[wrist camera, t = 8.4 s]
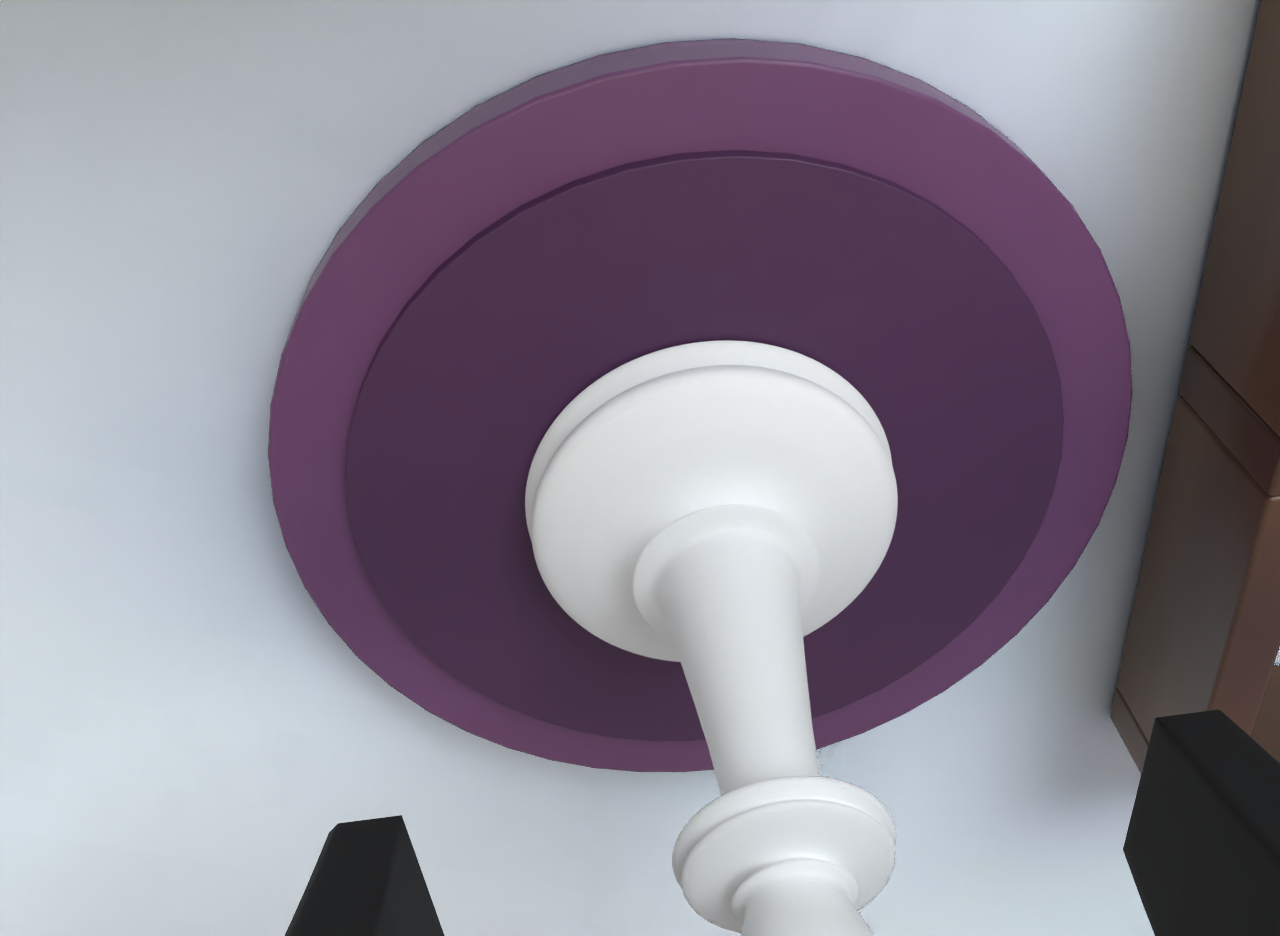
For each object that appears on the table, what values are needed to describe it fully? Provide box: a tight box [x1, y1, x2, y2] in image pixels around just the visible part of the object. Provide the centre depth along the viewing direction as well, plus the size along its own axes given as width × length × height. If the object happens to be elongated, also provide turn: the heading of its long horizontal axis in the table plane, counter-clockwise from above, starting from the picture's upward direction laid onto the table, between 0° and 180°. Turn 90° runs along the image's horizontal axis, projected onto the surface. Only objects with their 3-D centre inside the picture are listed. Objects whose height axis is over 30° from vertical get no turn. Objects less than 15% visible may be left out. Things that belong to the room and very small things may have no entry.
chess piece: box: [525, 340, 898, 936], centre depth 11 cm, size 5×5×10 cm
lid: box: [268, 39, 1132, 772], centre depth 16 cm, size 12×12×1 cm
